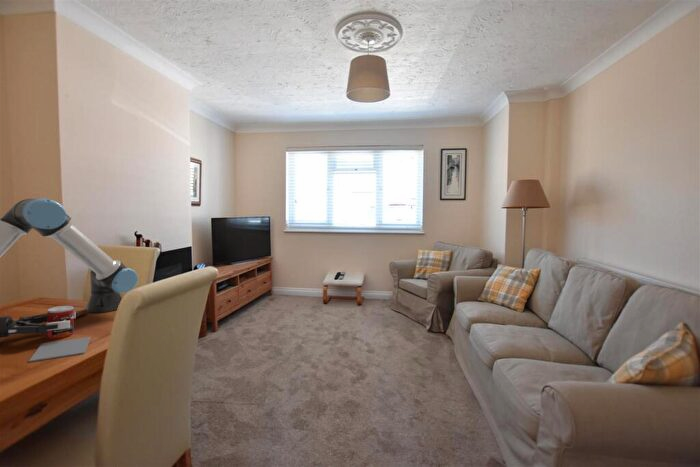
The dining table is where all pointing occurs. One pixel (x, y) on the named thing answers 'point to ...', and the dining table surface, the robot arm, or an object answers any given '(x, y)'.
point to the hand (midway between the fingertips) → (72, 319)
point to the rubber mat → (60, 349)
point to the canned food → (57, 316)
